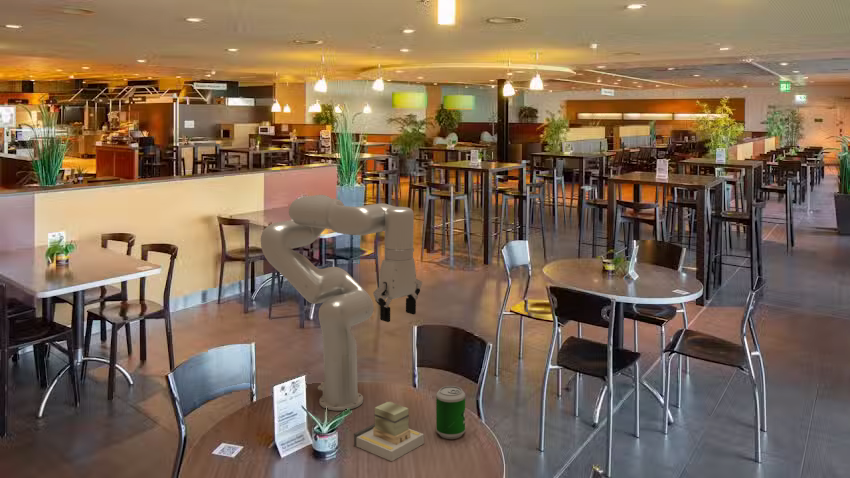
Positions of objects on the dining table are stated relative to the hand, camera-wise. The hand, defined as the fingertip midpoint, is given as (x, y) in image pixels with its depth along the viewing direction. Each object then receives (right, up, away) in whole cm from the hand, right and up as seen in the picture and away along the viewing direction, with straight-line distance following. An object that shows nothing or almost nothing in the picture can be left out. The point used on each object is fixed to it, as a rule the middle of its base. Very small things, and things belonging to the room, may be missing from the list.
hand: (398, 317), depth 179 cm
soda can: (+14, -30, -4) cm, 33 cm away
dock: (-2, -31, -10) cm, 33 cm away
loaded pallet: (-1, -29, -11) cm, 31 cm away
